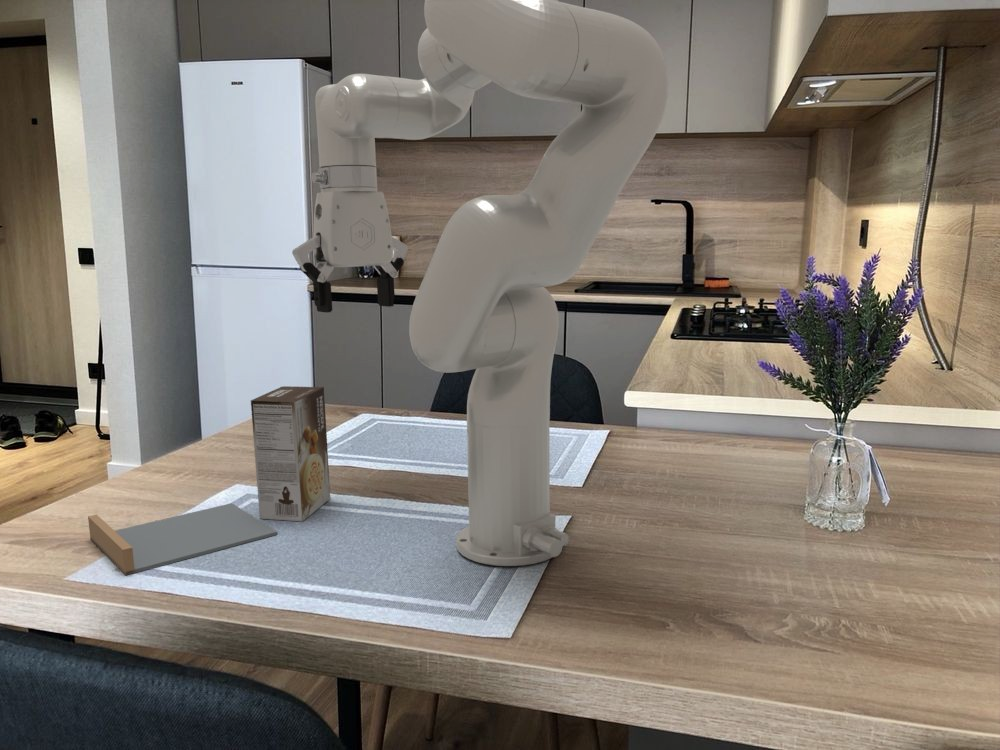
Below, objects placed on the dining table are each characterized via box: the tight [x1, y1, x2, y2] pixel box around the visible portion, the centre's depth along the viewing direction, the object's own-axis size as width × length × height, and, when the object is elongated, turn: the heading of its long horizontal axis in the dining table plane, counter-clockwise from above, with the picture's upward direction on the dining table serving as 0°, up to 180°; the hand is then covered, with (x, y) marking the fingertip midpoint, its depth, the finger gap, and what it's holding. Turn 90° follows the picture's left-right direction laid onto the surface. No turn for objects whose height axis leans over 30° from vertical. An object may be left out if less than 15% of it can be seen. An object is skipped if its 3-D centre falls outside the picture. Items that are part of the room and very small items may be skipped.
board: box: [87, 502, 278, 576], centre depth 103 cm, size 14×18×3 cm
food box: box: [250, 385, 331, 522], centre depth 111 cm, size 9×6×16 cm
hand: (356, 308), depth 116 cm, fingers open, 9 cm apart
